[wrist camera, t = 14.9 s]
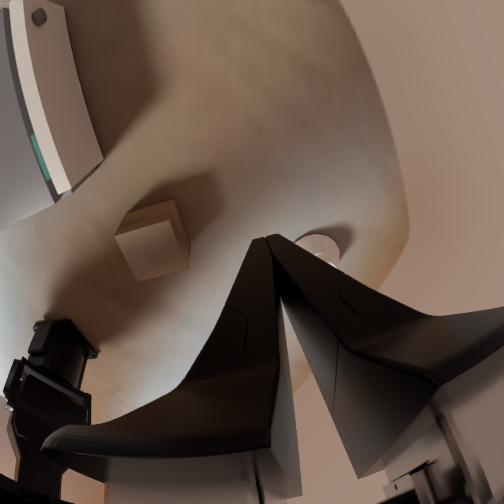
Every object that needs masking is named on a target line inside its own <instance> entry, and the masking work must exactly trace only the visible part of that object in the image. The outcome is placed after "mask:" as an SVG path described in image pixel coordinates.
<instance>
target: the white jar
mask: <svg viewBox="0 0 504 504" xmlns="http://www.w3.org/2000/svg"><path fill="white" fill-rule="evenodd" d="M295 244H297V245H298V246H300V247H302V248H304V249H305V250H307V251H309V252H310V253H312V254H314V255H315V256H317V257H319V258H320V259H322V260H324V261H325V262H327V263H329V264H330V265H332V266H334V267H335V268H337V269H339V257H340V251H339V249H338V247H337V245H336V243H335V241H334V240H332V239H331V238H329V237H328V236H325V235H319V234H314V235H309V236H305V237H303V238H301V239H300V240H298V241H296V242H295Z"/></svg>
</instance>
